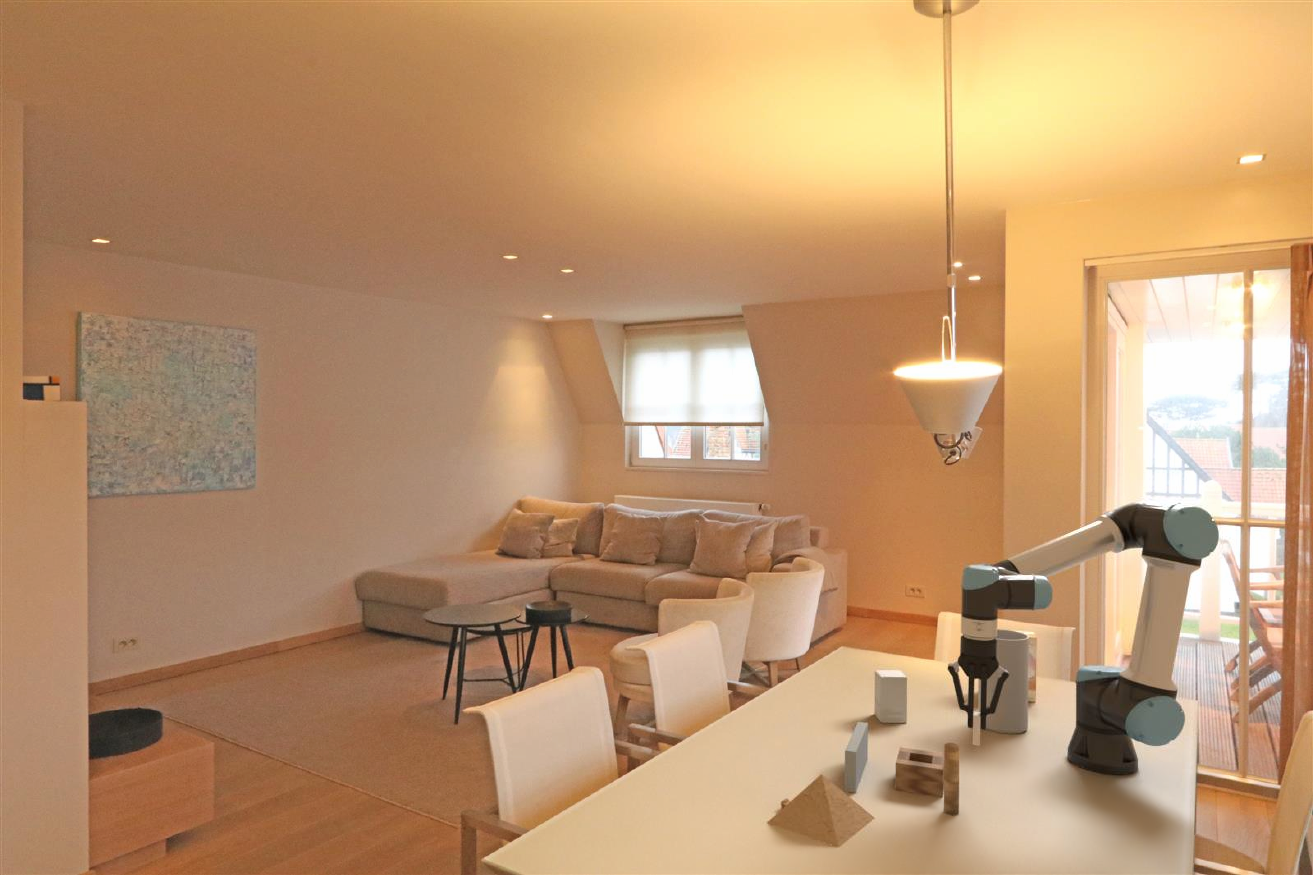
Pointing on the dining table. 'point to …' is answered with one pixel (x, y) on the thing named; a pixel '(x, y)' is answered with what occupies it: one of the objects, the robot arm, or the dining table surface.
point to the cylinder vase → (1009, 684)
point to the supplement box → (890, 696)
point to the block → (920, 771)
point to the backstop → (856, 757)
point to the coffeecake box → (1032, 666)
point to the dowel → (951, 778)
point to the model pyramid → (822, 813)
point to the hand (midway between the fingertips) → (976, 743)
